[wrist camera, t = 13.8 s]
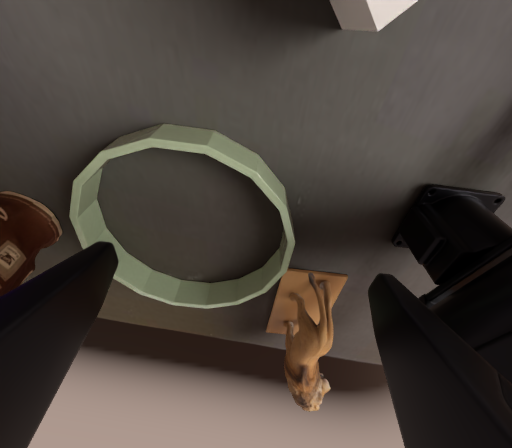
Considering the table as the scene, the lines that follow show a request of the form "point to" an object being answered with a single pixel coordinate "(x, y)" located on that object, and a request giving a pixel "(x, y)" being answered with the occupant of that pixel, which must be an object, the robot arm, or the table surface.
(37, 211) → the coffee cup
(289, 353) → the lion figurine
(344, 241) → the table surface
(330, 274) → the cork mat
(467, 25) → the table surface
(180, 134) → the pale green faceted ring
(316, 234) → the table surface
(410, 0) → the white cube
